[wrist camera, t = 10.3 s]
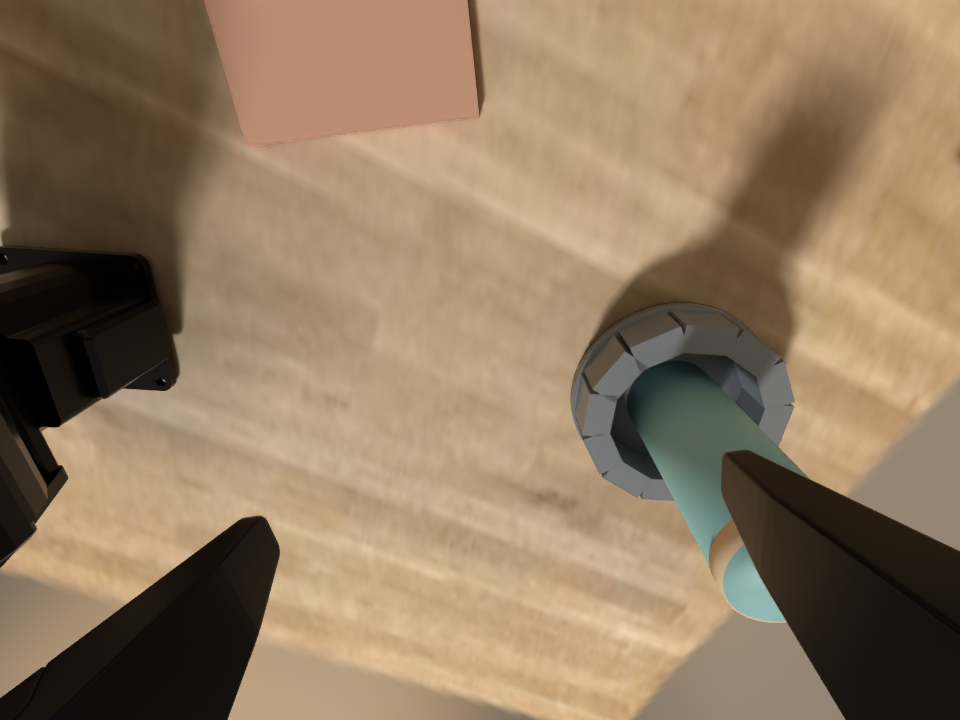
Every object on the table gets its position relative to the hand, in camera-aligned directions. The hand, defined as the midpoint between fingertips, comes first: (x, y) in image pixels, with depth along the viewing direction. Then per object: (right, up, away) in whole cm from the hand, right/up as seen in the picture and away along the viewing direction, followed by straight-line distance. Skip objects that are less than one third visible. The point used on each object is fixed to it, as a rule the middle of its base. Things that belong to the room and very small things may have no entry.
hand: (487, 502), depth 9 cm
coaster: (-5, +16, +7) cm, 18 cm away
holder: (+9, +1, +14) cm, 16 cm away
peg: (+9, +1, +13) cm, 16 cm away
